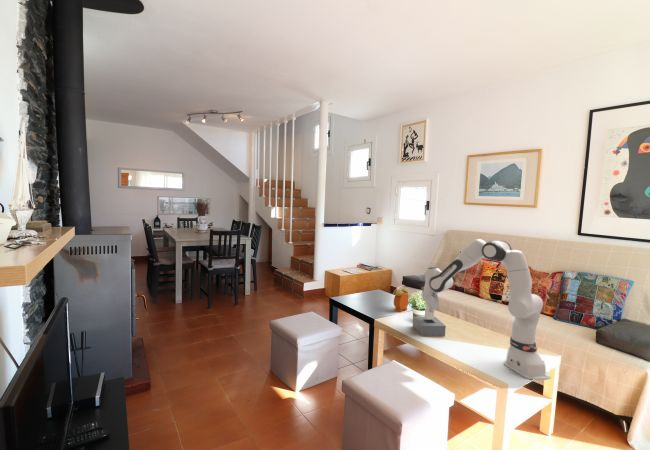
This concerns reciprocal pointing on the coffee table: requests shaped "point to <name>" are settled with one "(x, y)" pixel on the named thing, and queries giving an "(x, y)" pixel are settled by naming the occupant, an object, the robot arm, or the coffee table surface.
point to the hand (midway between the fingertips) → (429, 310)
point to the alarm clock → (401, 300)
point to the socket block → (429, 326)
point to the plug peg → (428, 312)
